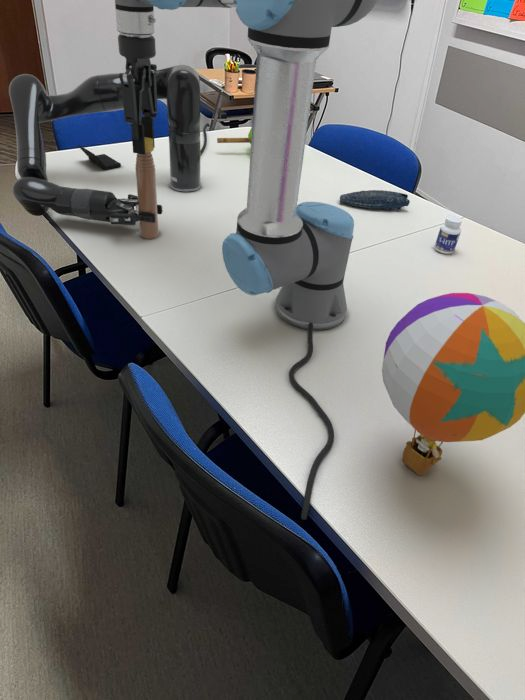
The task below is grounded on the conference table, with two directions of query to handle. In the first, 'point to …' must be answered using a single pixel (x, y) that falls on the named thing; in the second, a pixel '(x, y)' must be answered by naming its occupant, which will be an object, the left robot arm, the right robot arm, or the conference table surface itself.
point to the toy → (455, 372)
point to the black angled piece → (101, 159)
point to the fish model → (376, 199)
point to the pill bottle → (448, 235)
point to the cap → (148, 144)
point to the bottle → (147, 193)
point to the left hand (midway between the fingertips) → (158, 214)
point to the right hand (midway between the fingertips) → (144, 149)
